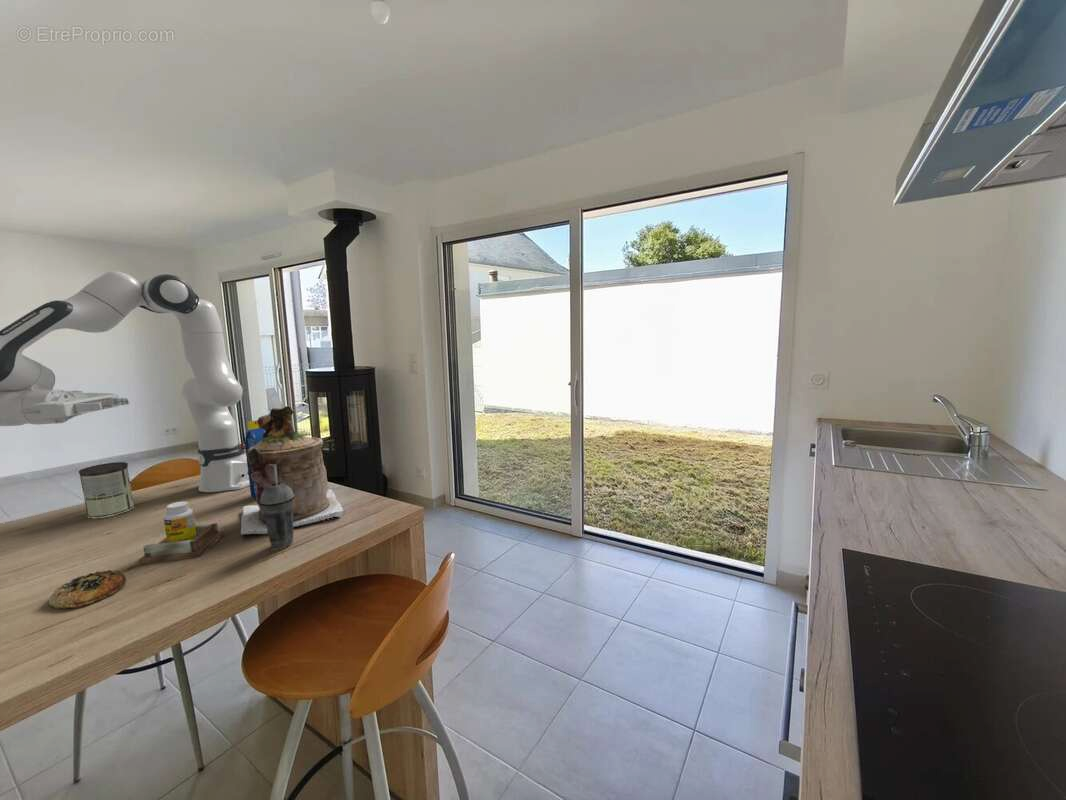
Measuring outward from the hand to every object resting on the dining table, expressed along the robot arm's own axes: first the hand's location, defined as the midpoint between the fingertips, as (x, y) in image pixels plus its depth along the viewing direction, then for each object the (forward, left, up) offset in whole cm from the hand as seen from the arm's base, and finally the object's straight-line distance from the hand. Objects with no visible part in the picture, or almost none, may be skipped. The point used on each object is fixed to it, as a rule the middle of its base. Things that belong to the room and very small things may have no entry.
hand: (115, 403), depth 114 cm
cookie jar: (-23, +34, -34) cm, 54 cm away
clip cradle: (+2, +29, -34) cm, 45 cm away
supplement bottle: (+2, +29, -33) cm, 44 cm away
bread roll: (+20, +34, -34) cm, 53 cm away
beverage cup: (-9, +50, -34) cm, 62 cm away
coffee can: (-1, -19, -34) cm, 39 cm away
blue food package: (-32, +11, -34) cm, 48 cm away
